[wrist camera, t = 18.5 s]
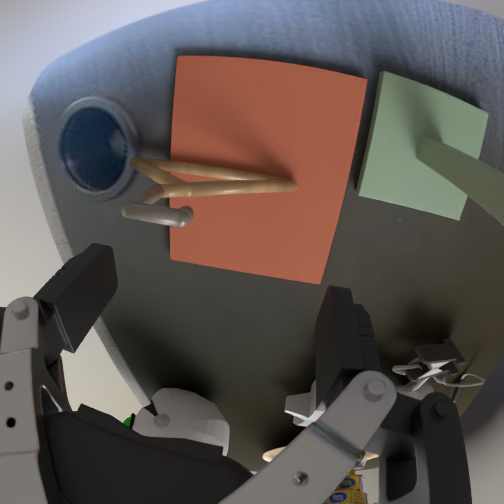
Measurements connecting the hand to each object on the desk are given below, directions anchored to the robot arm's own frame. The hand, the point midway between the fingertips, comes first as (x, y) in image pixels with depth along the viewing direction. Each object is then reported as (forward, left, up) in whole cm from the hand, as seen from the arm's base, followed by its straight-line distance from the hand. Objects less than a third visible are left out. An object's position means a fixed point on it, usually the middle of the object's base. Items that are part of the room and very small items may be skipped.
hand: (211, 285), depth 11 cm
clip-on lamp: (+21, +27, -15) cm, 37 cm away
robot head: (+34, -6, -15) cm, 38 cm away
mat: (0, 0, -15) cm, 15 cm away
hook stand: (-5, +17, -15) cm, 24 cm away
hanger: (0, -4, -14) cm, 15 cm away
